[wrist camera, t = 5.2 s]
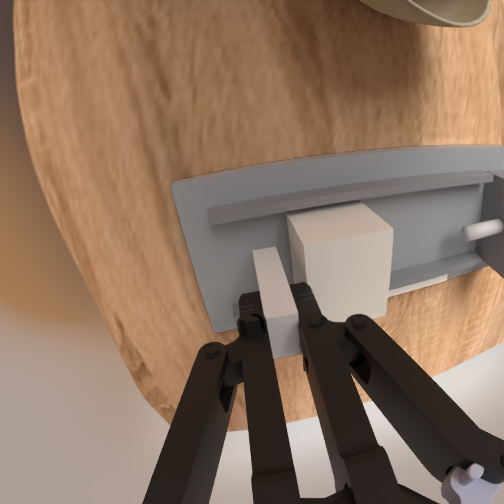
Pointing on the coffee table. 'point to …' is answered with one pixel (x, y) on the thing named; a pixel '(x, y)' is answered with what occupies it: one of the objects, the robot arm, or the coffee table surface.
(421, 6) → the flower pot
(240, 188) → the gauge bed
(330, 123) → the coffee table surface
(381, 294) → the cream block
